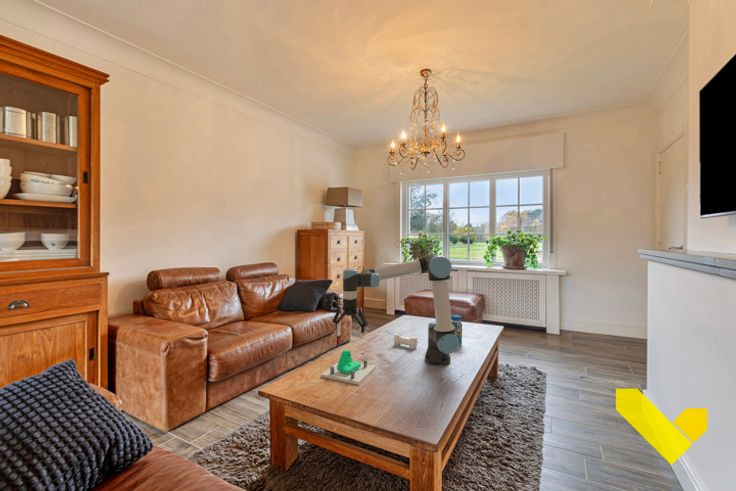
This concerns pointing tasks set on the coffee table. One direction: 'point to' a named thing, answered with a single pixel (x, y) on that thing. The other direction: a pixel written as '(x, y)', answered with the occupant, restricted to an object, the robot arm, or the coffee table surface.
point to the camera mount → (347, 363)
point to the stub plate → (352, 377)
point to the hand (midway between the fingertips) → (349, 337)
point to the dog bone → (405, 341)
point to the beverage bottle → (457, 327)
